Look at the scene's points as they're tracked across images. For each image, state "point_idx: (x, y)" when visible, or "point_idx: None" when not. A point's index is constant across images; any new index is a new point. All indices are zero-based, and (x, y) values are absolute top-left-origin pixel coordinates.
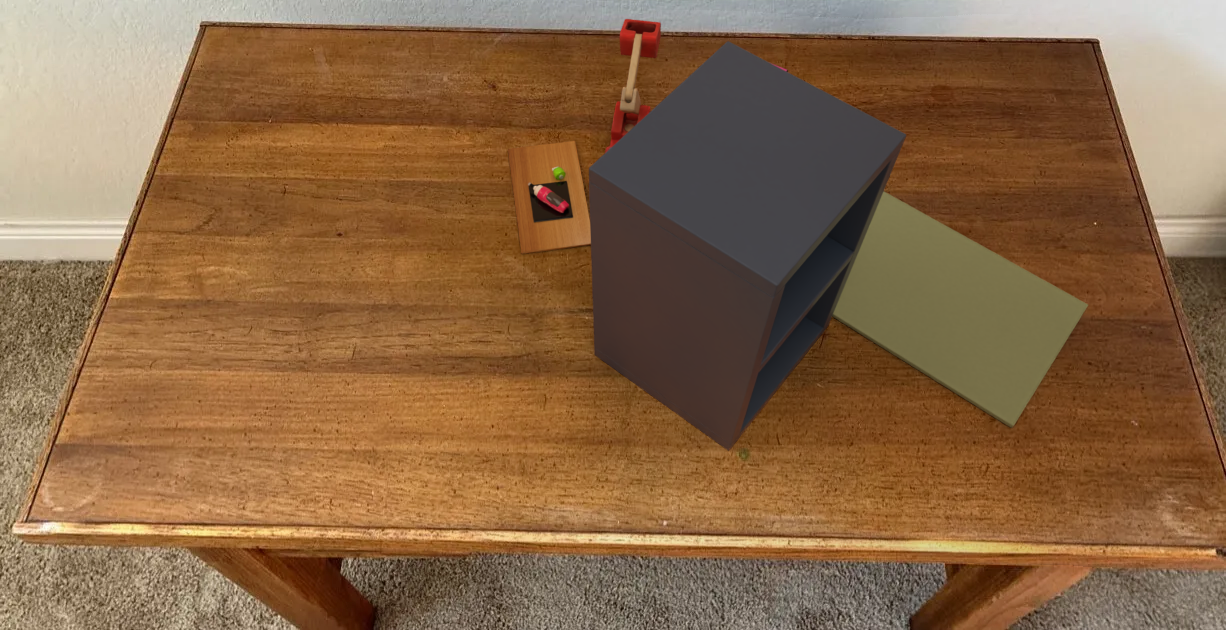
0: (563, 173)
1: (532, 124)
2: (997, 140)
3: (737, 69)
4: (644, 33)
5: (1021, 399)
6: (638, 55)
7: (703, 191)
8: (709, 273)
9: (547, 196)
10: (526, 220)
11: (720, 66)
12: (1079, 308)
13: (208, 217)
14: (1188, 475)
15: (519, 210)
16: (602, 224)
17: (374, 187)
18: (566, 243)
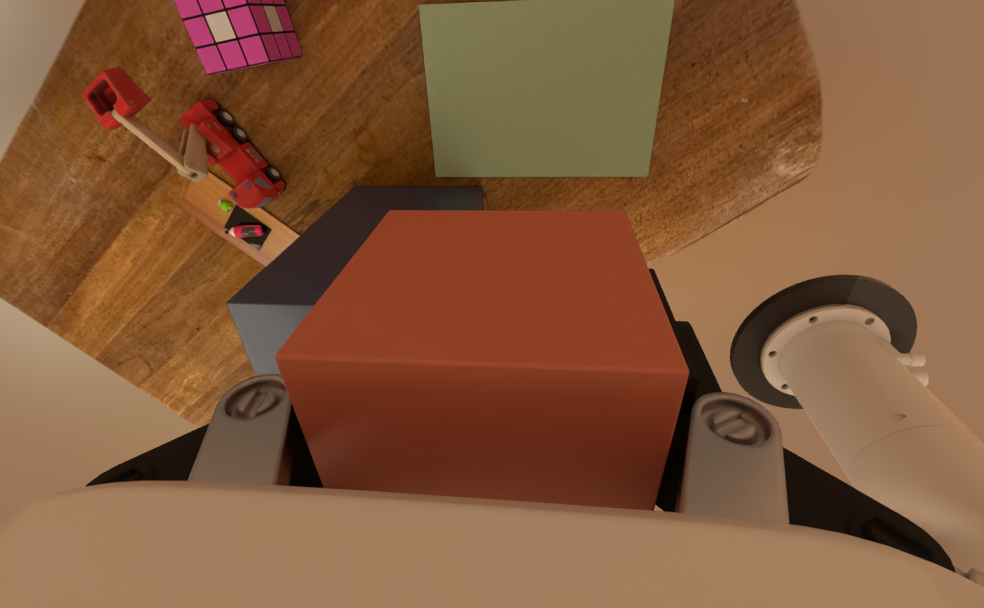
0: (228, 206)
1: (161, 171)
2: None
3: (266, 328)
4: (115, 109)
5: (646, 149)
6: (144, 135)
7: None
8: None
9: (244, 235)
10: (254, 252)
11: (253, 334)
12: (668, 6)
13: (144, 361)
14: (797, 119)
15: (242, 248)
16: None
17: (168, 291)
18: None
